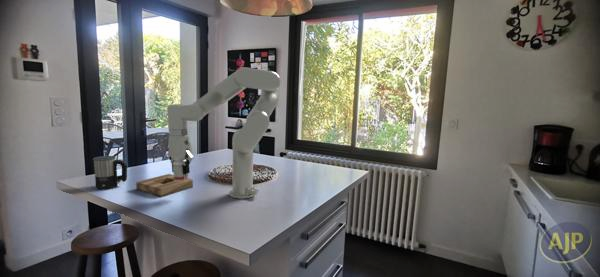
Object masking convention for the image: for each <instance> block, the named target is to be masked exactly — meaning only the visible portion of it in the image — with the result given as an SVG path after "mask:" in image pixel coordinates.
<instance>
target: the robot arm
mask: <svg viewBox="0 0 600 277" xmlns="http://www.w3.org/2000/svg"><path fill="white" fill-rule="evenodd" d="M280 85H281V77H280V76H279V74H278V73H277V72H275V71H272V70H265V69H258V68H252V67H246V66H245V67H244V66H242V67H240V68H238V69H237V70H236V71H235V72H232V73H231V74H230V75H229V76H227V77H226V78H224V79H223V80H222V81H220V82H219V83H217V84H216V85H215V86H213V87H212V88H211V89H210V91H208V92H207V93H205V94H204V95H202V97H200V98H199V99H197V100H196V101H194V102H193V103H191V104H183V103H182V104H181V103H180V104H179V103H177V104H175V103H174V104H168V106H167V110H166V112H167V123H168V152H167V153H166V156H167V157H168V159H169V161H170V164H171V172H172V173H173V162H174V161H175V160H174V156H176V157H178V158H179V159H182V162H183V166H182V168H183V174H187V173H188V174H190V172H191V170H190V164H191V163H192V160H193V159H194V156H193V152H192V144H191V139H190V136H189V134H188V122H187V121H189V122H198V121H202V120H203V118H204V117H205V116H206V115H208V114H209V113H210V112H212V111H213V110H214V109H216V108H217V107H219V106H221V105H224V104H226V103H227V102H229V101H230V100H231V99H233V98H234V97H235V96H237V95H238V94H239V93H241V92H242V91H244V90H245V89H247V88H248V89H254V90H260V91H261V94H260V96H259V98H258V100H257V101H256V103H255V104H254V106H253V107H252V109H251V110H250V111H249V113H248V114H247V115H246V120H245V123H244V125H242V127H241V128H239V129H237V130H235V131H234V132H233V135H232V137H231V138H232V140H231V143H232V173H231V174H232V189H231V190H230V191H229V192H228V195H229V197H230V198H233V199H249V198H252V197H254V196H257V195H258V193H259V189H257V188H255V185H254V184H253V183H254V149H255V148H256V147H257V145H258V143H259V142H260V141H261V139H262V138H263V137H264V135H265V133H266V132H267V130H268V128H269V126H270V116H271V115H272V113H273V111H274V110H275V108H276V107H277V105H278V103H279V99H280V89H279V87H280ZM185 157H186V158H185ZM185 159H186V162H185Z"/></svg>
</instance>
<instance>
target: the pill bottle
mask: <svg viewBox="0 0 600 277" xmlns="http://www.w3.org/2000/svg"><path fill="white" fill-rule="evenodd" d="M185 158H186V157H185ZM174 160H175V161H174V162H173V172H172V173H173V175H174V181H176V182H183V181H187V180H188V179H190V178H189V173H187V174H183V168H182V166H183V162H182V159H179V158H178V157H176V156H174ZM185 162H186V159H185Z"/></svg>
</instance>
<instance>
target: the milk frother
mask: <svg viewBox="0 0 600 277" xmlns="http://www.w3.org/2000/svg"><path fill="white" fill-rule="evenodd" d="M92 160H93V167H94V175H95V176H94V177H95V178H94V180H95V182H94V183H95V187H96V188H97V189H106V190H111V189H110V188H112V189H114V187H115V188H116V187H118V183H119V182H121V181H122V182H123V183H124V182H126V181H127V179H128V164H127V162H126V161H125V160H123V159H116V156H114V155H102V156H97V157H94V158H92ZM117 165H120V166H121V175H118V171H117V168H118V167H117ZM97 189H96V190H97Z"/></svg>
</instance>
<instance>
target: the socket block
mask: <svg viewBox="0 0 600 277" xmlns="http://www.w3.org/2000/svg"><path fill="white" fill-rule="evenodd" d="M135 185H136V191H139V192H142V193H145V194H148V195H151V194H152V195H153V196H154V197H155V196H156V197H159V198H163V197H167V196H169V195H173V194H177V193H178V192H179V193H180V192H182V191H186V190H189V189H191V188H192V189H193V187H194V180H193V179H191V178H189V179H188V180H187V181H183V182H176V181H174V174H171V173H168V174H163V175H159V176H154V177H150V178H146V179H143V180H138V181H136V182H135Z"/></svg>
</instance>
